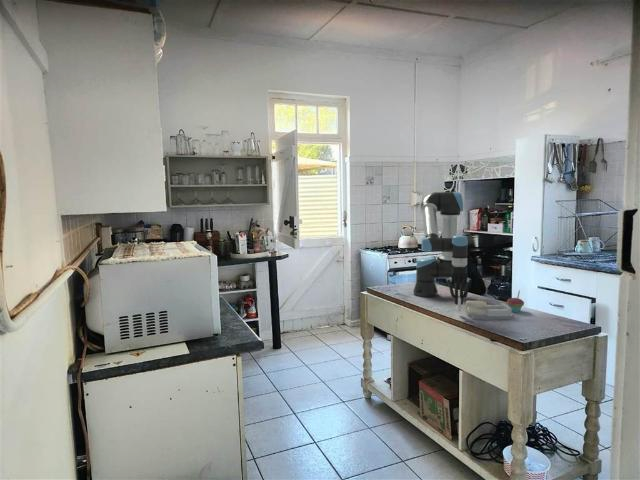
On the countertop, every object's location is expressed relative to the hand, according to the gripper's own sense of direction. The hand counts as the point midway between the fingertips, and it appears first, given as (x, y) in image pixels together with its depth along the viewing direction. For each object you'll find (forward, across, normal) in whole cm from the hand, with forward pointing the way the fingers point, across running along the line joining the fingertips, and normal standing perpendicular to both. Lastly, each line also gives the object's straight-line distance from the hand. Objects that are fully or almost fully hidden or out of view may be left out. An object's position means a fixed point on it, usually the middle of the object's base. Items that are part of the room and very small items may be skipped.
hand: (458, 310), depth 216 cm
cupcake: (+3, +32, +9) cm, 34 cm away
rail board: (+3, +15, 0) cm, 16 cm away
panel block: (+1, +9, 0) cm, 9 cm away
